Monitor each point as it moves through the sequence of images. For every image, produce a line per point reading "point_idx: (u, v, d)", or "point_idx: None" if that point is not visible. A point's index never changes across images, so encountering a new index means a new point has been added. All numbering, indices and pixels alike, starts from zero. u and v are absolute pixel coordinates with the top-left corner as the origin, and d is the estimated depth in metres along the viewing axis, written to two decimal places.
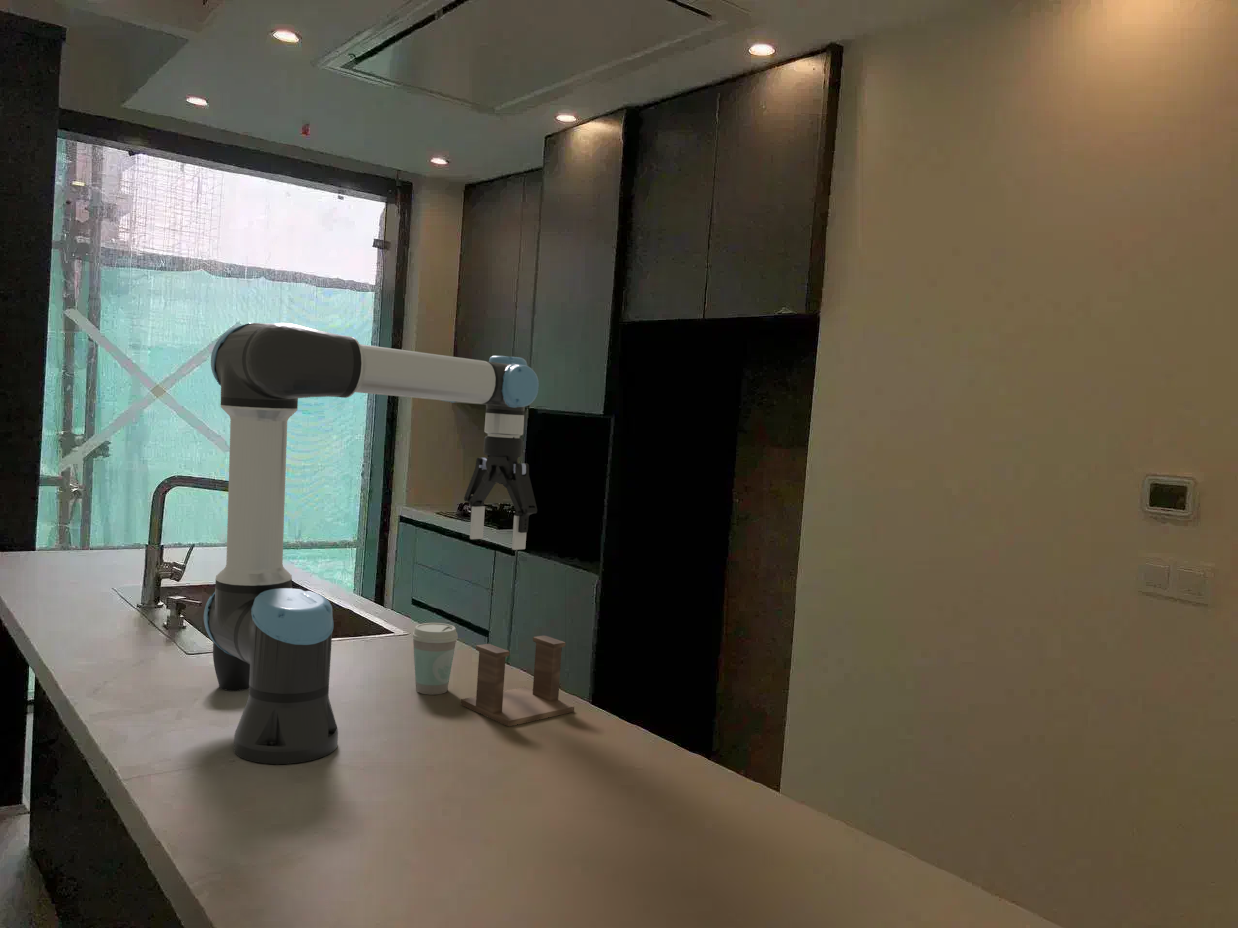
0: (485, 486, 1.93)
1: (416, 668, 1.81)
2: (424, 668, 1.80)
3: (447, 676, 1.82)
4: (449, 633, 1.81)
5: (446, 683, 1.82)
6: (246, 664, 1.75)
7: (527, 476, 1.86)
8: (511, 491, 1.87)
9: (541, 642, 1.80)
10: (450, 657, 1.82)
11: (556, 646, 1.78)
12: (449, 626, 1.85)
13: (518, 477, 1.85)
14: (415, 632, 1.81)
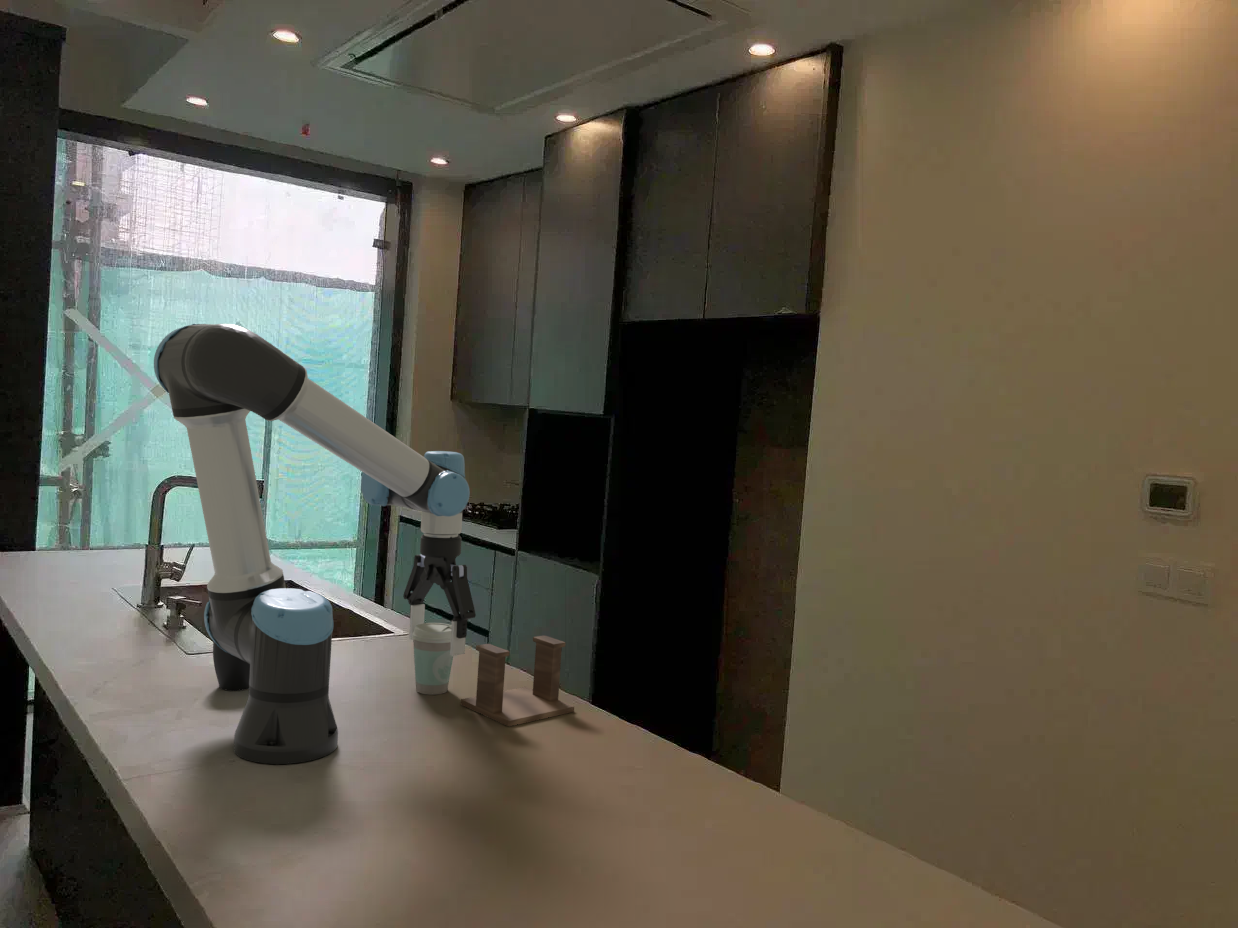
0: (423, 585, 1.85)
1: (416, 668, 1.81)
2: (424, 668, 1.80)
3: (447, 676, 1.82)
4: (449, 633, 1.81)
5: (446, 683, 1.82)
6: (246, 664, 1.75)
7: (465, 578, 1.78)
8: (448, 594, 1.78)
9: (541, 642, 1.80)
10: (450, 657, 1.82)
11: (556, 646, 1.78)
12: (449, 626, 1.85)
13: (455, 580, 1.77)
14: (415, 632, 1.81)
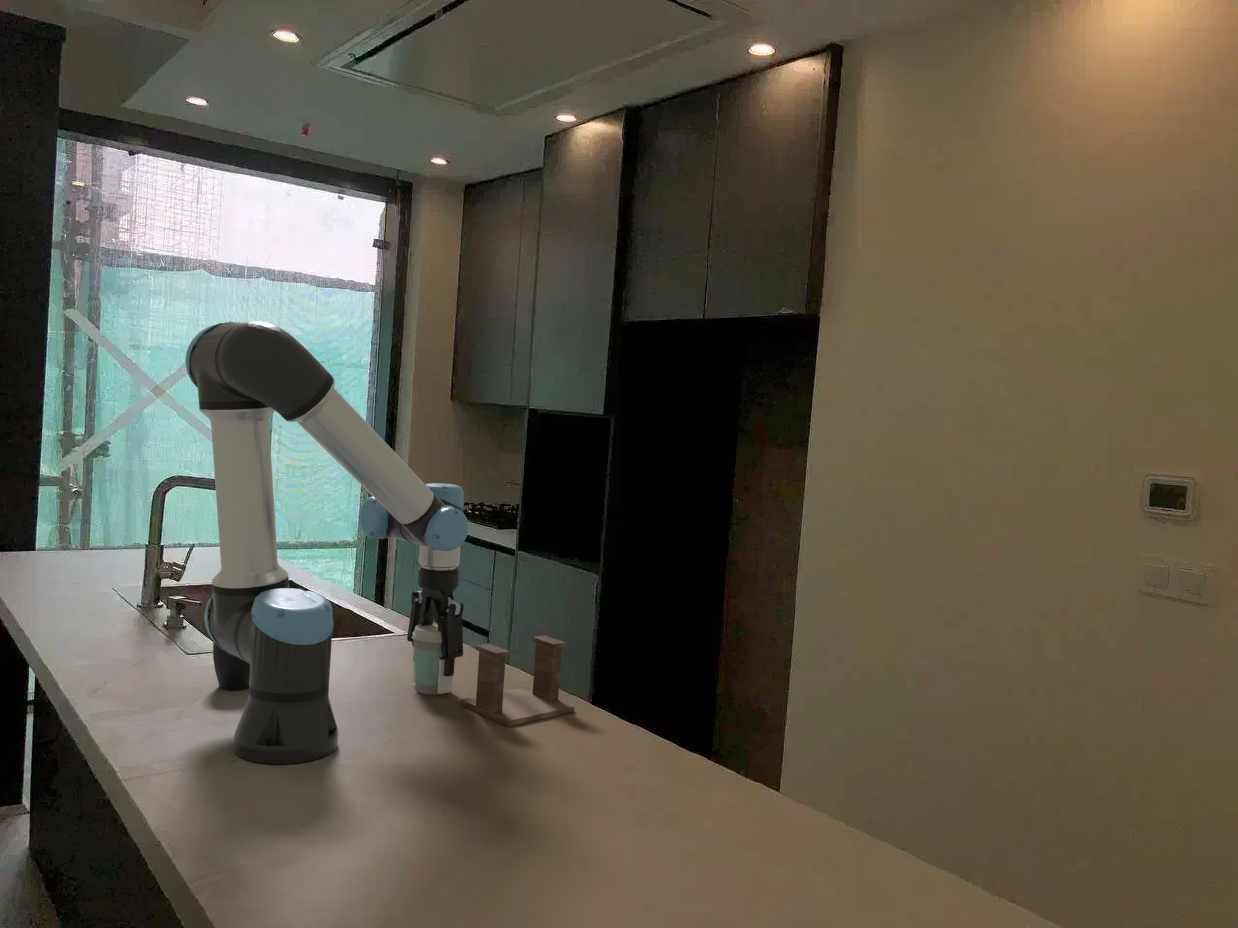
0: (424, 621, 1.84)
1: (416, 668, 1.81)
2: (424, 668, 1.80)
3: None
4: None
5: None
6: (246, 664, 1.75)
7: (460, 617, 1.79)
8: (441, 630, 1.80)
9: (541, 642, 1.80)
10: None
11: (556, 646, 1.78)
12: None
13: (450, 618, 1.78)
14: (415, 632, 1.81)
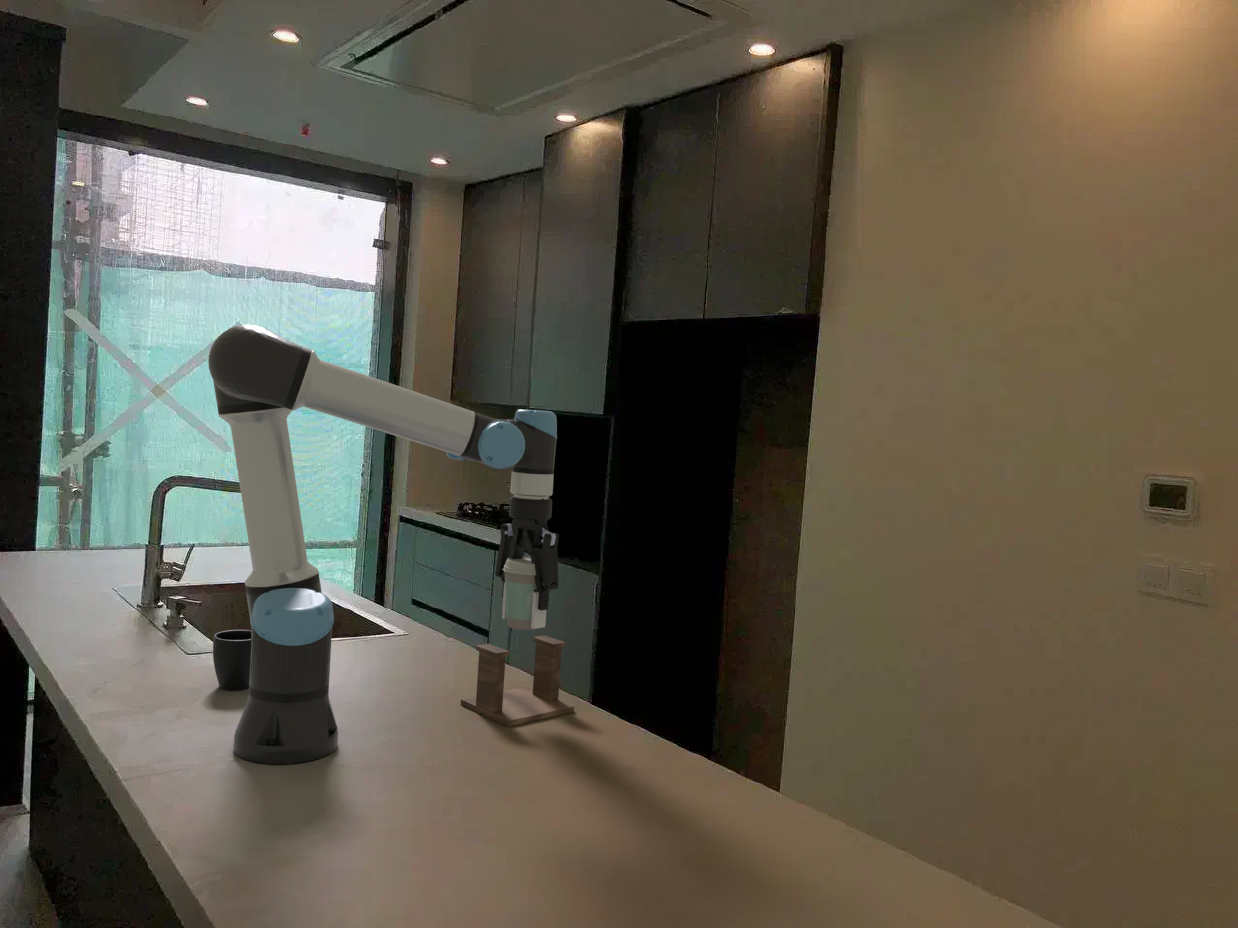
0: (515, 554, 1.76)
1: (508, 602, 1.73)
2: (518, 602, 1.72)
3: None
4: None
5: None
6: (246, 664, 1.75)
7: (555, 548, 1.71)
8: (534, 562, 1.72)
9: (541, 642, 1.80)
10: None
11: (556, 646, 1.78)
12: None
13: (545, 549, 1.70)
14: (507, 564, 1.73)
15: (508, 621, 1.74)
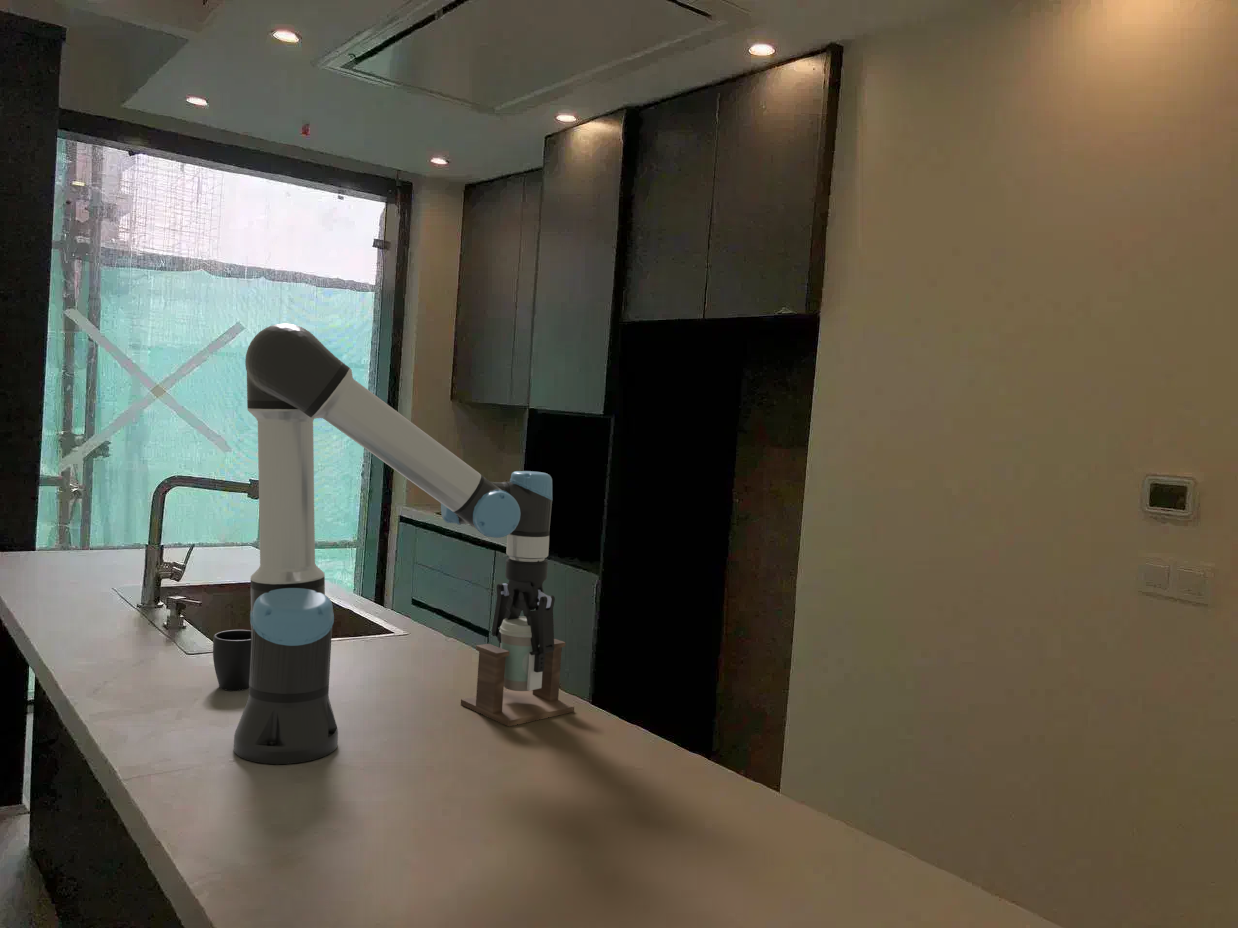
0: (511, 615, 1.77)
1: None
2: (514, 664, 1.73)
3: None
4: None
5: None
6: (246, 664, 1.75)
7: (551, 610, 1.71)
8: (530, 624, 1.72)
9: None
10: None
11: (556, 646, 1.78)
12: None
13: (541, 612, 1.70)
14: (503, 626, 1.74)
15: (504, 682, 1.75)
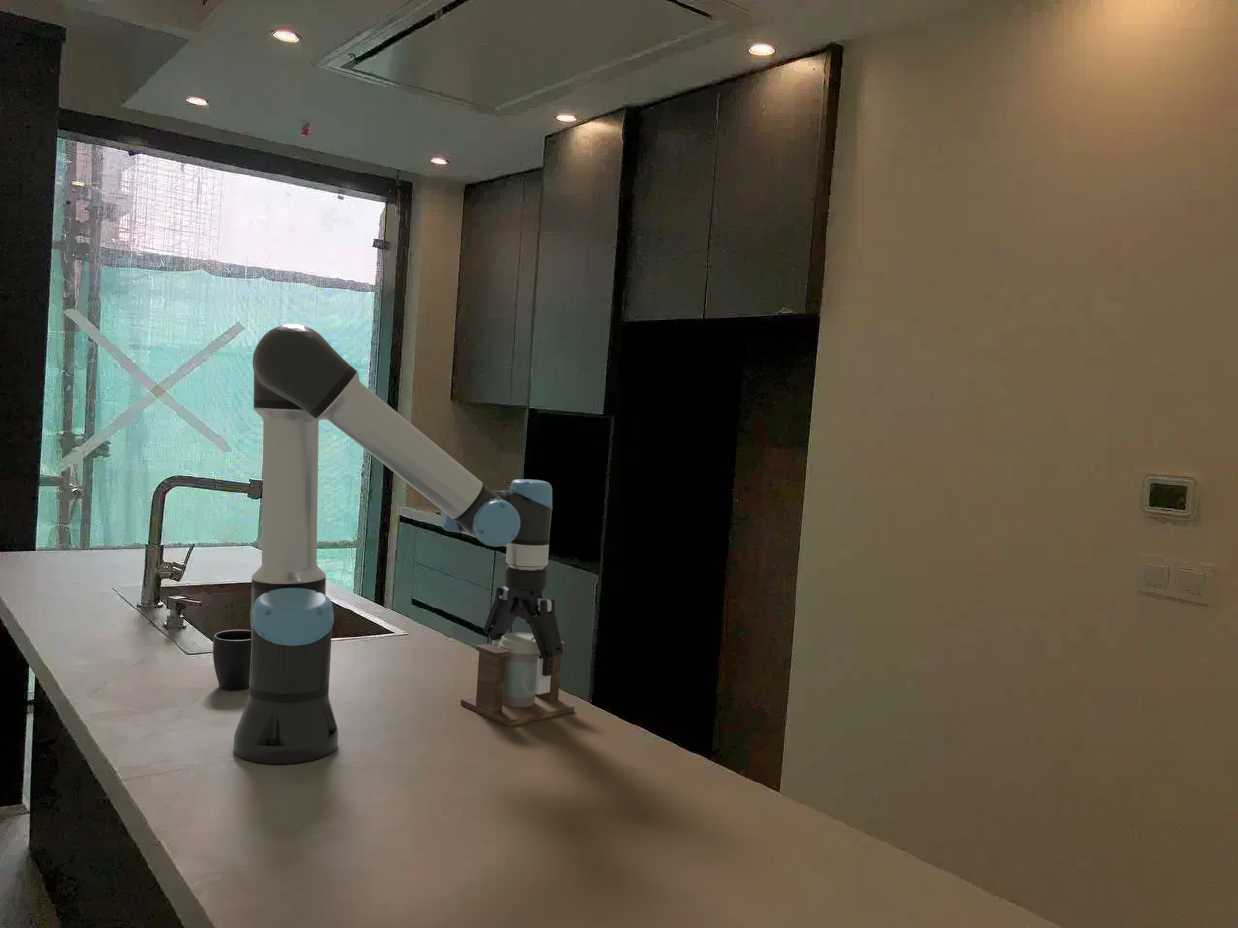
0: (506, 619, 1.78)
1: None
2: (512, 680, 1.73)
3: (535, 688, 1.75)
4: None
5: (533, 696, 1.75)
6: (246, 664, 1.75)
7: (552, 613, 1.71)
8: (535, 629, 1.71)
9: None
10: None
11: None
12: None
13: (543, 615, 1.70)
14: (502, 642, 1.74)
15: None
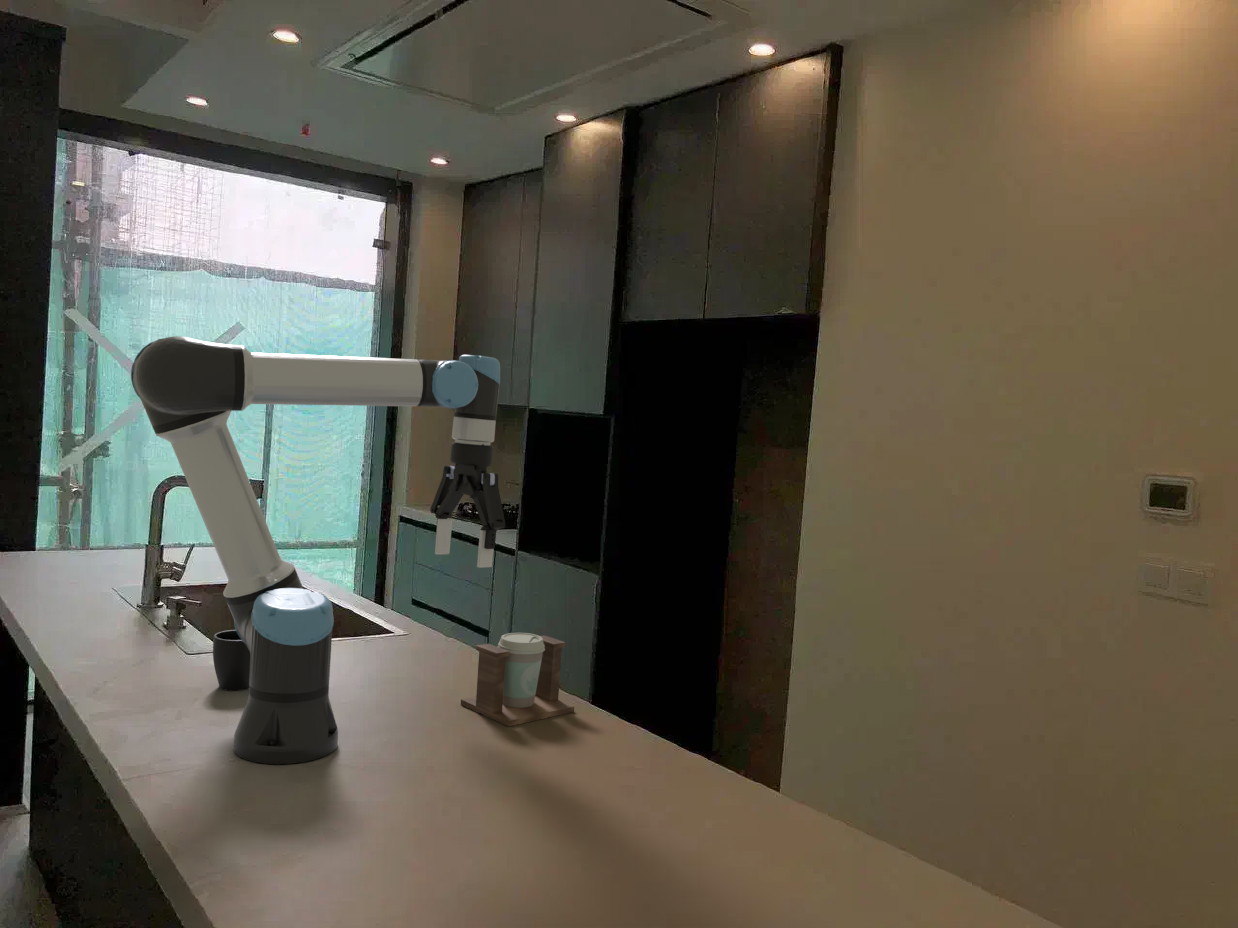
0: (452, 497, 1.77)
1: None
2: (512, 681, 1.73)
3: (534, 688, 1.75)
4: (537, 644, 1.73)
5: (533, 696, 1.75)
6: (246, 664, 1.75)
7: (496, 487, 1.70)
8: (478, 503, 1.70)
9: None
10: (538, 668, 1.75)
11: (556, 646, 1.78)
12: (535, 636, 1.78)
13: (485, 488, 1.69)
14: (502, 643, 1.74)
15: None
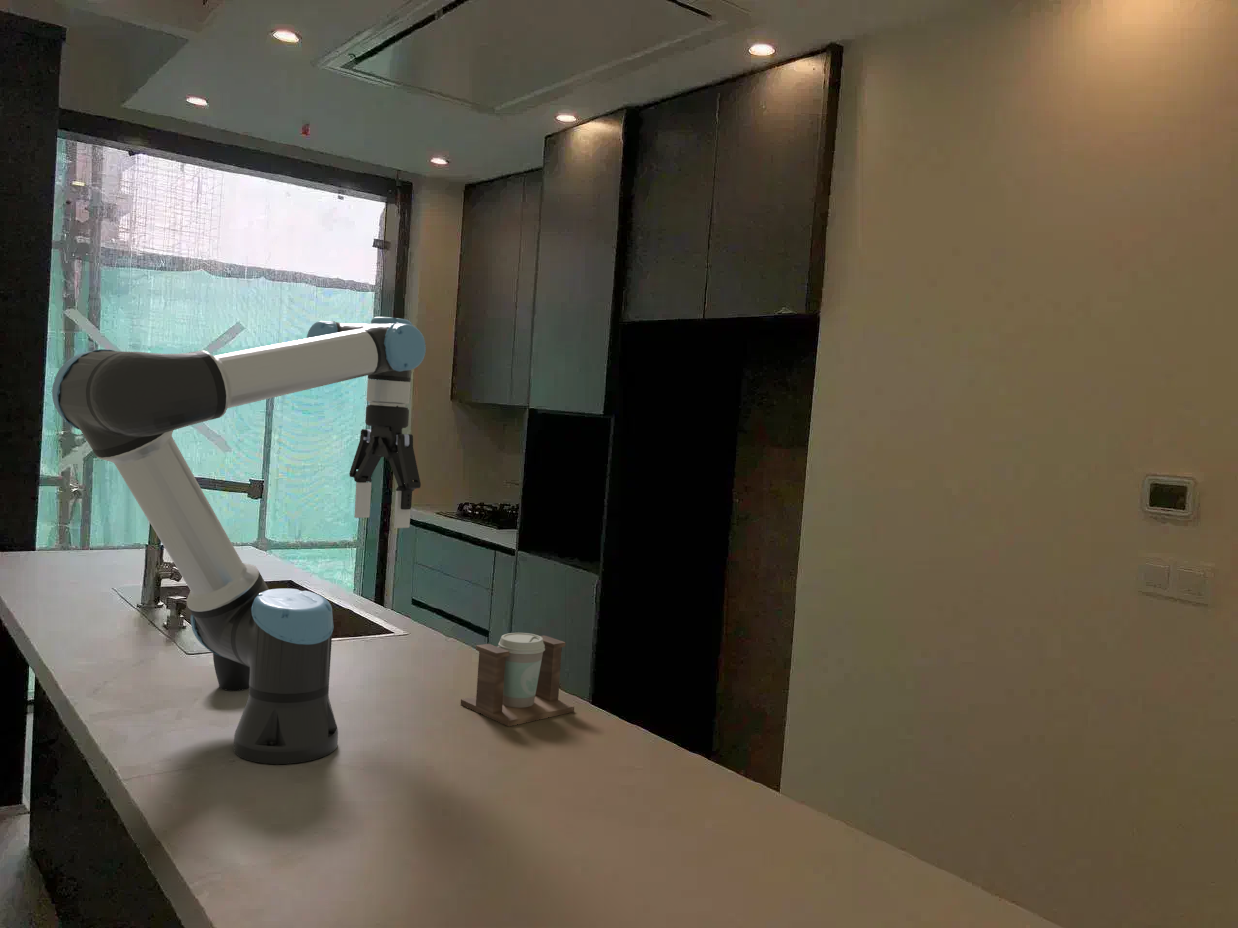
0: (369, 460, 1.78)
1: None
2: (512, 680, 1.73)
3: (534, 688, 1.75)
4: (537, 644, 1.73)
5: (533, 696, 1.75)
6: None
7: (411, 448, 1.71)
8: (393, 464, 1.71)
9: None
10: (538, 668, 1.75)
11: (556, 646, 1.78)
12: (535, 636, 1.78)
13: (400, 449, 1.70)
14: (502, 643, 1.74)
15: None
